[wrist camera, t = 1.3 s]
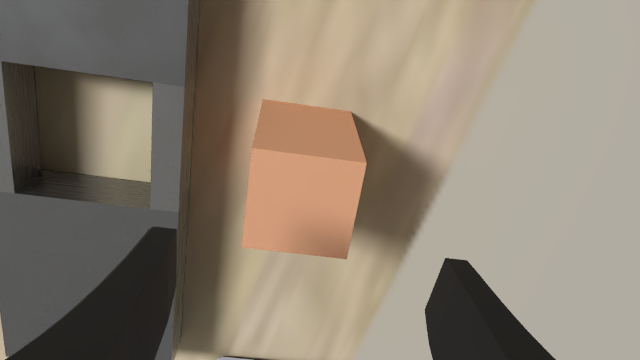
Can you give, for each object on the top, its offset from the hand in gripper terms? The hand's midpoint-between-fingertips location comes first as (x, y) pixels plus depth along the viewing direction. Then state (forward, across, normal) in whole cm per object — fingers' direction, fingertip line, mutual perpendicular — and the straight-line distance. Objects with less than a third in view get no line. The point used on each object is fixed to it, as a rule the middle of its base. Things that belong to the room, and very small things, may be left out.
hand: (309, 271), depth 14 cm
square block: (+11, 0, +2) cm, 11 cm away
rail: (+11, +9, +2) cm, 14 cm away
